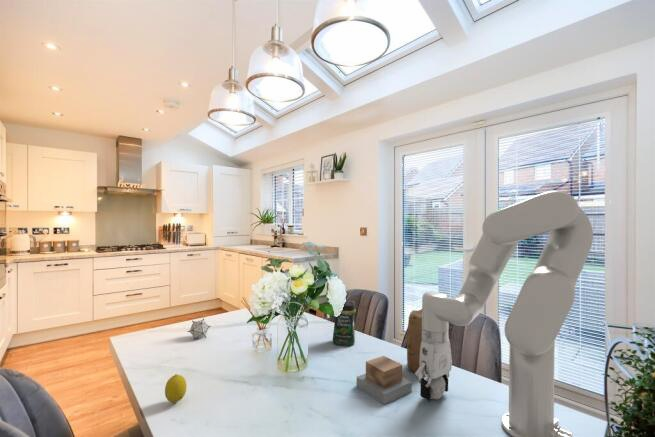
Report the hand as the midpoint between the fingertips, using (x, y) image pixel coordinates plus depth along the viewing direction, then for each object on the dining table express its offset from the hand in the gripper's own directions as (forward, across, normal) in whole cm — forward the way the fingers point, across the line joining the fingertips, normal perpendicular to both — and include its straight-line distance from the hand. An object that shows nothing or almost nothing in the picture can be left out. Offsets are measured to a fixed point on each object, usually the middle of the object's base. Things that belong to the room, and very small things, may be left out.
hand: (434, 393), depth 92 cm
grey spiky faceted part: (+2, -46, +88) cm, 99 cm away
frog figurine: (+1, 0, 0) cm, 1 cm away
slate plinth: (+1, -9, +12) cm, 15 cm away
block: (+1, +12, +15) cm, 19 cm away
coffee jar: (+2, +4, +48) cm, 48 cm away
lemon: (+1, -64, +40) cm, 75 cm away
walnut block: (-2, -9, +12) cm, 15 cm away
